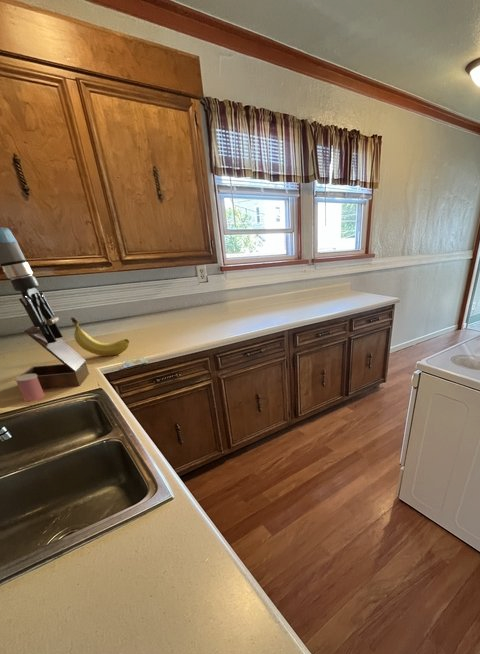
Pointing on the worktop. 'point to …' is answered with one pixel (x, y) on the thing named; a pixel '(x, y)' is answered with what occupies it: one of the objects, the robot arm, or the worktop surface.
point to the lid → (57, 347)
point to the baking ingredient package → (133, 362)
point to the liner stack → (30, 387)
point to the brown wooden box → (59, 376)
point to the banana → (98, 343)
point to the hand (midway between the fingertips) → (55, 339)
